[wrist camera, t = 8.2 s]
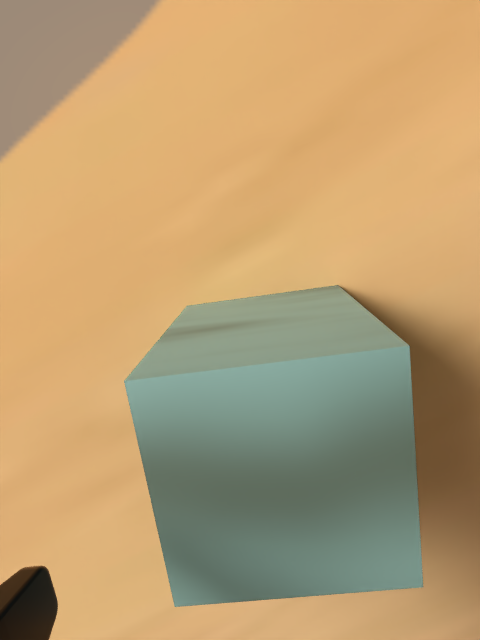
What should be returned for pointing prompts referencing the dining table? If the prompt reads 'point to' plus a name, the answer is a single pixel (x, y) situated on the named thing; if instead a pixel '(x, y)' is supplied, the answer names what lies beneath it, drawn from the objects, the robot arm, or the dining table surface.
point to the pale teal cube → (280, 449)
